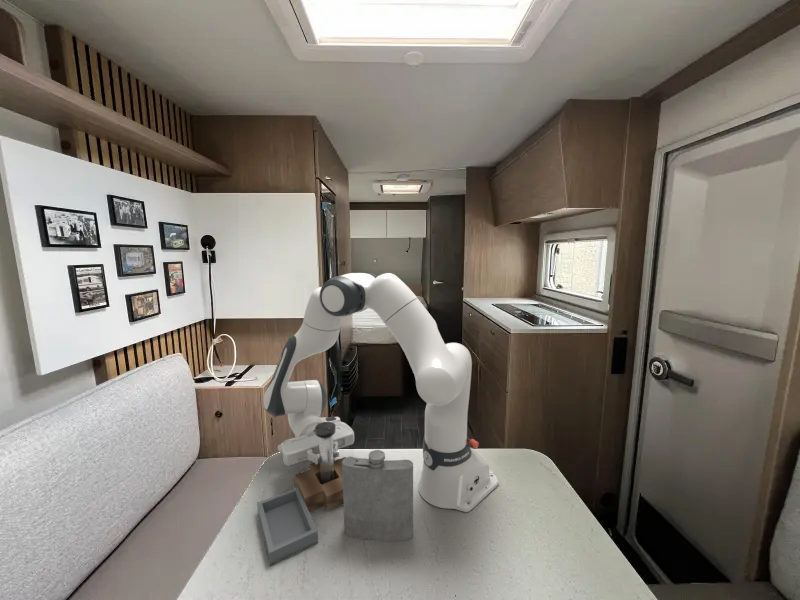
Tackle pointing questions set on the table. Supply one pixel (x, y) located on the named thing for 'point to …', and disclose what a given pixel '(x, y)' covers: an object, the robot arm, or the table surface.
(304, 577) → the table surface
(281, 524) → the tray
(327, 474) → the steel pin
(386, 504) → the hip flask
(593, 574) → the table surface
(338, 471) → the block
